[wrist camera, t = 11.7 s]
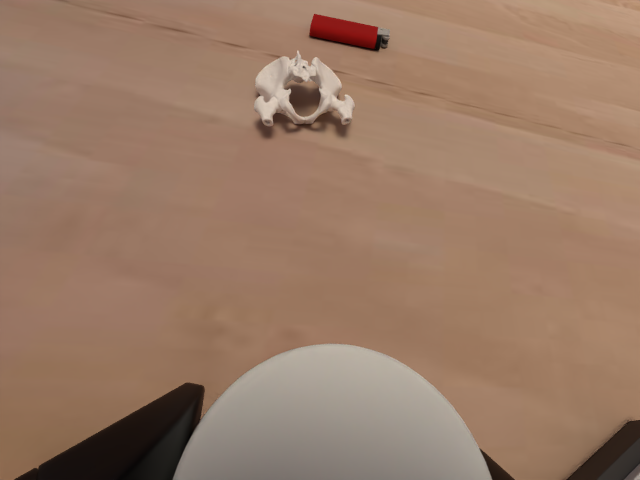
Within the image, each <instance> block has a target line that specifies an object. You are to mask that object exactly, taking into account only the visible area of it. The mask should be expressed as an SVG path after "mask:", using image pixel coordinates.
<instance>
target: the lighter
mask: <svg viewBox="0 0 640 480" xmlns="http://www.w3.org/2000/svg"><path fill="white" fill-rule="evenodd" d="M389 33H390V30H389V29H384V28H379V27H375V26H370V25H365V24H360V23H355V22H351V21H346V20H341V19H336V18H331V17H327V16H322V15H317V14H314V16H313V19H312V23H311V27H310V36H313V37H318V38H323V39H328V40H332V41H337V42H342V43H347V44H352V45H357V46H361V47H366V48H371V49H377V50H379V48H380V47H387V45H388V43H387V42H388V40H389V38H390V36H389Z"/></svg>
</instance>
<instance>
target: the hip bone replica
mask: <svg viewBox="0 0 640 480" xmlns="http://www.w3.org/2000/svg"><path fill="white" fill-rule="evenodd" d="M295 60H297V61H296V63H295ZM307 63H308V62H307V61H304V60H302V59H301V56H300V54H299V50H298V51H297V56H296V57H295V58H294V59H291V60H289V58H288V57H285V56H284V57H281V58H279V59H277V60H275V61H274V62H272V63H270V64H269V65H267V66H266V67H264V68H263V70H262V71H261V72H260V73H259V74H258V75H257V77H256V80H255V86H256V89H257V91H258V92H259V94H260V96H259V97H258V98H257V99H256V100H255V105H254V109H255V111H256V112H257V113H258V114H259V115H260V116H261V119H262V122H263V124H264V125H266V126H272V125H273V115H274V114H275V113H280V114H284V115H286V116H288V117H289V118H291V119H292V120H293V122H294V124H303V123H305V124H309V123H311V124H312V123H313V122H314V120H315V119H316V118H317V117H318V116H319V115H321V114H323V113H326V112H327V110H328V111H334V110H336V111H338V114H339V115H340V117H341V123H342V124H343V125H345V124H348V123H350V122H351V120H352V111H353V110H354V108H355V104H354V101H353V99H352V98H351V97H350V96H349V95H345V96H344V97H345V101H340V100H338V99H337V96H338V95H339V93H340V91H341V89H342V86H341V82H340V80H339V78H338V77H337V76H336V75H335V74H334V72H333V71H332V70H331V69H330V68H329V67H328V66H326V65H325V64H323V63H322V62H321V61H320V60H319V59H318V58H317V57H314V59H313V61H312V65H311V66H308V65H307ZM290 80H294V81H295V82H297V83H302V82H304V81H306V82H308V81H314V82H315V83H316V84H317V85H318V86H319V92H320V94H321V99H320V103H319V106H318V108H317V110H316V112H315V113H314V114H312V115H310V116H308V117H301V116H299V115H297V114H296V113H295V111H294V109H293V107H292V105H291V103H290V102H289V95H290V93H291V89H289V90H285V89H284V87H285V86H286V84H287V83H288V82H289V81H290Z"/></svg>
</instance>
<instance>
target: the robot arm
mask: <svg viewBox="0 0 640 480" xmlns="http://www.w3.org/2000/svg"><path fill="white" fill-rule="evenodd" d="M204 392H205V389H204V386H203V385H198V384H194V383H185V384H183V385H181V386H179V387H178V388H176V389H174V390H172V391H171V392H169V393H167V394H165V395H164V396H162V397H160V398H158V399H156V400H155V401H153V402H151V403H149V404H148V405H146V406H144V407H142V408H140V409H139V410H137V411H135V412H133V413H132V414H130V415H128V416H126V417H125V418H123V419H121V420H119V421H117V422H116V423H114V424H112V425H110V426H109V427H107V428H105V429H103V430H101V431H100V432H98V433H96V434H94V435H93V436H91V437H89V438H87V439H86V440H84V441H82V442H80V443H78V444H77V445H75V446H73V447H71V448H70V449H68V450H66V451H64V452H62V453H61V454H59V455H57V456H55V457H54V458H52V459H50V460H48V461H47V462H45V463H43V464H41V465H40V466H39V468H38V469H37V468H34V469H32V470H30V471H28V472H27V473H25V474H23V475H21V476H20V477H18V478H16V479H14V480H173V477H174V474H175V471H176V468H177V466H178V463H179V461H180V459H181V457H182V454H183V452H184V450H185V447H186V445H187V444H188V442H189V439H190V437H191V435H192V433H193V431H194V429H195V428H196V426H197V425H198V423H199V421H200V417H201V411H202V405H203V399H204ZM479 449H480V448H479ZM480 451H481V453H482V455H483V457H484V459H485V462H486V464H487V467H488V470H489V472H490V475H491V478H492V480H515V479H513V478H512V477H511V476H510V475H509V474H508V473H507V472H506V471H505V470H503V469H502V468H501V467H500V466H499V465H498V464H497V463H496V462H495V461H493V460H492V459H491V458H490V457H489V456H488V455H487V454H486V453H485V452H483V451H482V450H481V449H480Z"/></svg>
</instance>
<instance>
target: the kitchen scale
mask: <svg viewBox="0 0 640 480" xmlns="http://www.w3.org/2000/svg"><path fill="white" fill-rule="evenodd" d="M568 480H640V420H636V421H630V422H629V423H628V424H627V425H625V426H624V427H623V428H622V429H621V430H620V431H619V432H618V433H617V434H616V435H615V436H614V437H613V438H612V439H610V440H609V441H608V442H607V443H606V444H605V445H604V446H603V447H602V448H601V449H600V450H599V451H598V452H597V453H596V454H594V455H593V456H592V457H591V458H590V459H589V460H588V461H587V462H586V463H585V464H584V465H583V466H582V467H581V468H579V469H578V470H577V471H576V472H575V473H574V474H573V475H572V476H571V477H570V478H569V479H568Z"/></svg>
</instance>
